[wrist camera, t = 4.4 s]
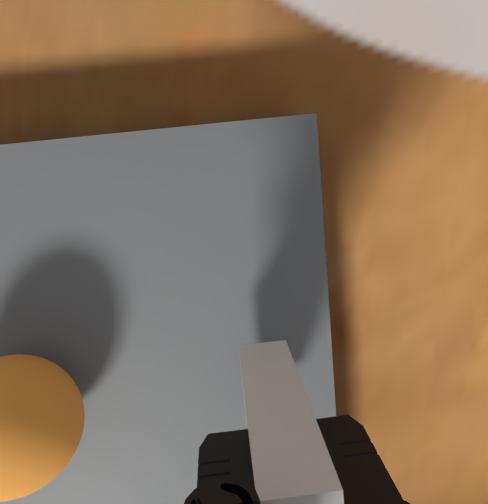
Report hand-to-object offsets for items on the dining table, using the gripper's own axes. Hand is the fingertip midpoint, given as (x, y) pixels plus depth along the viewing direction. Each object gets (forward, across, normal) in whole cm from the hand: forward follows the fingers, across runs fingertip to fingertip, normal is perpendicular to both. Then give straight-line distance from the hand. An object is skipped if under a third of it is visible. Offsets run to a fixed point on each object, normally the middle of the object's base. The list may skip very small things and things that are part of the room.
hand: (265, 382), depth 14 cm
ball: (-1, +8, 0) cm, 8 cm away
